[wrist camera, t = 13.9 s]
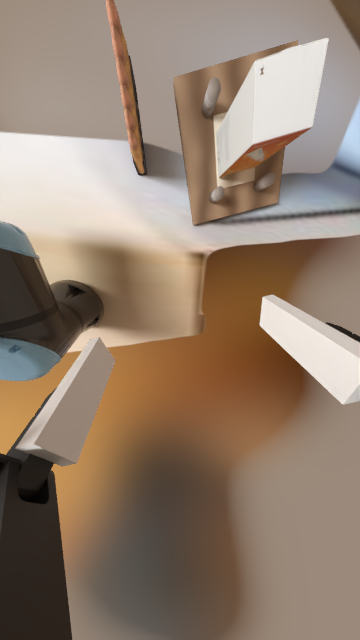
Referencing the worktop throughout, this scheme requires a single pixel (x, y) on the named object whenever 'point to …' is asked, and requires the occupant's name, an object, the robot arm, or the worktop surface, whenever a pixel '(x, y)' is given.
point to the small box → (271, 107)
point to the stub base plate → (201, 147)
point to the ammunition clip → (127, 89)
